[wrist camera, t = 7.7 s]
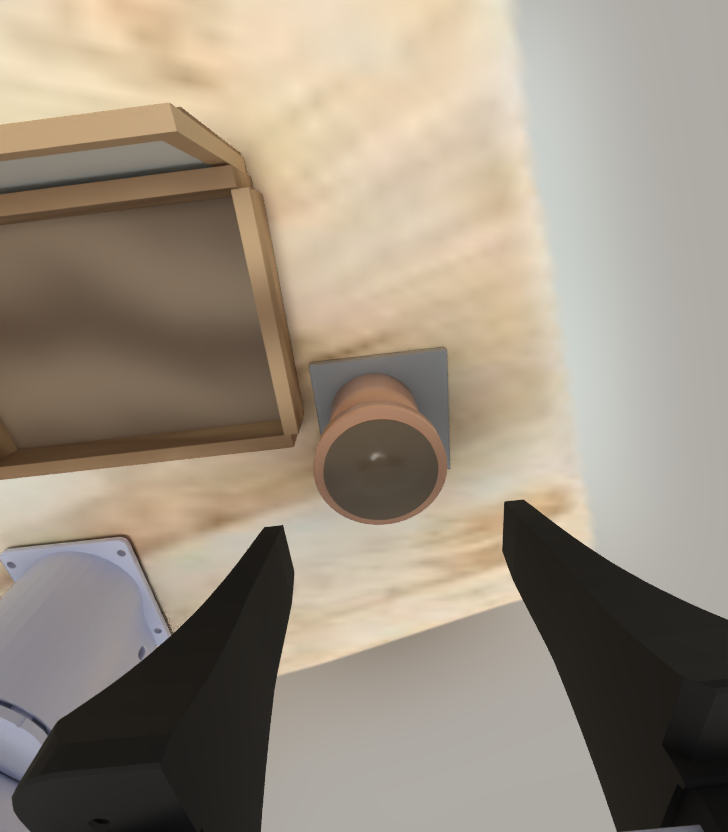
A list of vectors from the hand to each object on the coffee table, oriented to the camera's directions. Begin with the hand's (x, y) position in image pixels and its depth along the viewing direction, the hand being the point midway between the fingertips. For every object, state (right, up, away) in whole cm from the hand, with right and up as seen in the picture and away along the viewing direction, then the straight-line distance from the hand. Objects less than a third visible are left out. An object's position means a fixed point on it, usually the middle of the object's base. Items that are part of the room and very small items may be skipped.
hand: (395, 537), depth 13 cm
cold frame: (-13, +8, +7) cm, 17 cm away
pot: (0, +4, +8) cm, 9 cm away
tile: (0, +4, +9) cm, 10 cm away
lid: (-14, +14, +4) cm, 20 cm away
